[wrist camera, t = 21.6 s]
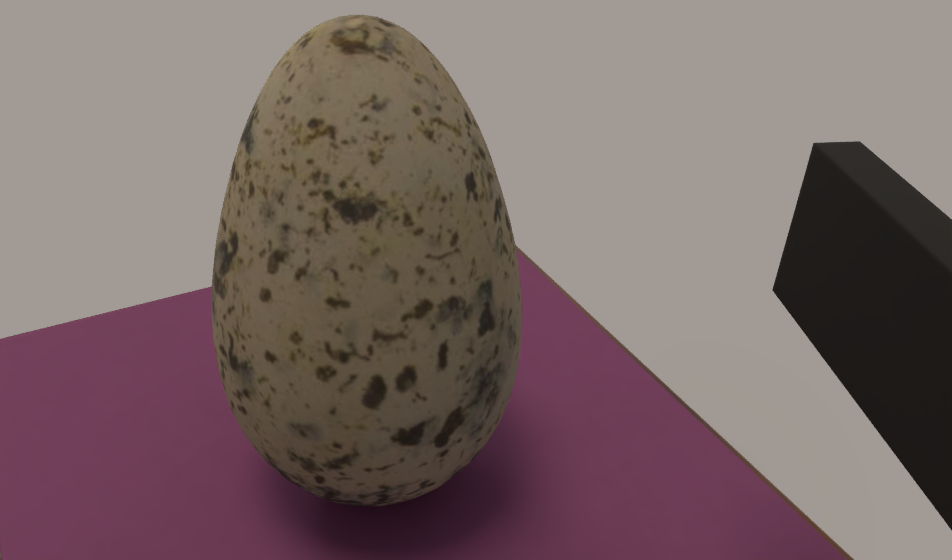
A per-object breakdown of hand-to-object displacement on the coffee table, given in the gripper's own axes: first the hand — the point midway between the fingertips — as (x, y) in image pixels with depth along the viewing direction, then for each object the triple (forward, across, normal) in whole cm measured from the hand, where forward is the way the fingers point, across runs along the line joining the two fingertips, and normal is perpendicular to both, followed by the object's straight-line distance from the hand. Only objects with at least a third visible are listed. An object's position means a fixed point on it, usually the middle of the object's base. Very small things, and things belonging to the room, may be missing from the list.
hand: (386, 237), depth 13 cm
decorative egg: (+3, 0, -8) cm, 8 cm away
